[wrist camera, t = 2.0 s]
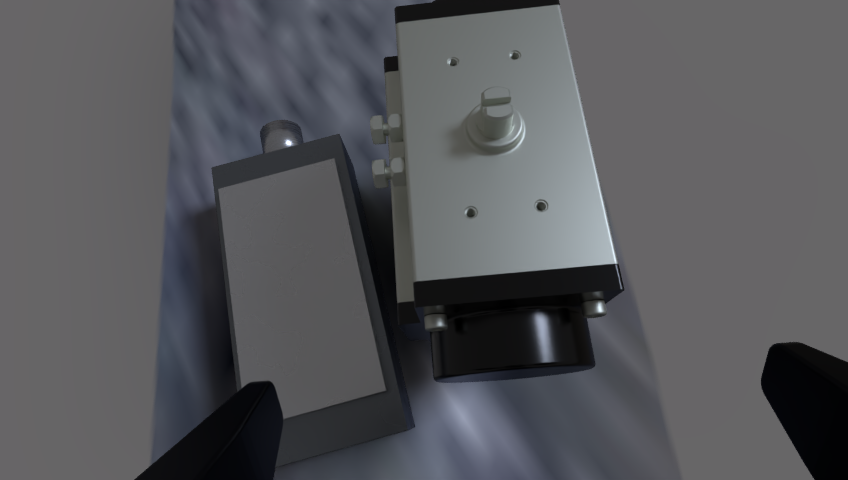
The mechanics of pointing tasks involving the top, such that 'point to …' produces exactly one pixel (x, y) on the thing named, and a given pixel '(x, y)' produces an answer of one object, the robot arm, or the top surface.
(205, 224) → the top surface
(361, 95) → the top surface
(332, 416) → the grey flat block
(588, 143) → the pneumatic valve
